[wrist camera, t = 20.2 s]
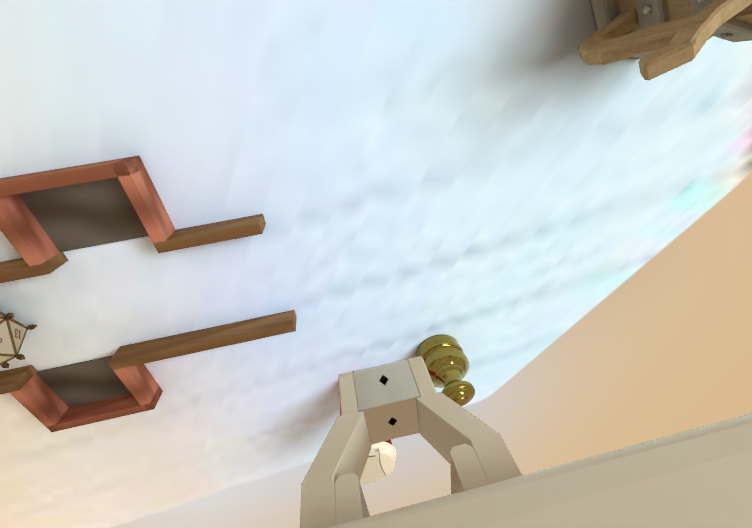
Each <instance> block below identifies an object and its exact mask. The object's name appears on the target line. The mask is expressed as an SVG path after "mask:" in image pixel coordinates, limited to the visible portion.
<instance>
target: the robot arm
mask: <svg viewBox="0 0 752 528" xmlns="http://www.w3.org/2000/svg"><path fill="white" fill-rule="evenodd" d="M338 381H339V392H340V404H341V416H339V417H337V418H336V420H335V422H334V424H333V426H332V428H331V430H330V431H329V433H328V435H327V437H326V439H325V441H324V443H323V445H322V446H321V448H320V450H319V452H318V454H317V456H316V458H315V460H314V461H313V463H312V465H311V467H310V469H309V471H308V473H307V475H306V476H305V478H304V480H303V482H302V484H301V510H300V512H301V513H300V528H752V414H748V415H744V416H740V417H737V418H733V419H729V420H726V421H722V422H718V423H715V424H711V425H707V426H703V427H699V428H696V429H692V430H689V431H685V432H681V433H677V434H673V435H670V436H666V437H663V438H659V439H655V440H651V441H647V442H644V443H640V444H636V445H633V446H629V447H625V448H622V449H618V450H614V451H610V452H607V453H603V454H599V455H596V456H592V457H588V458H585V459H581V460H577V461H573V462H570V463H566V464H562V465H559V466H555V467H551V468H547V469H544V470H540V471H537V472H533V473H529V474H525V475H522V474H521V472H520V470H519V468H518V466H517V465H516V463H515V461H514V459H513V457H512V455H511V454H510V452H509V450H508V448H507V446H506V444H505V442H504V440H503V439H502V437H501V435H500V434H499V433H498V432H497V431H495V430H494V429H492V428H491V427H489V426H488V425H487V424H485V423H484V422H483V421H481V420H480V419H478V418H477V417H476V416H474V415H473V414H471V413H470V412H468V411H467V410H466V409H464V408H463V407H461V406H460V405H459V404H457V403H456V402H454V401H453V400H451V399H450V398H449V397H447V396H446V395H444V394H443V393H442V392H438V393H437V392H436V390H435V387H434V385H433V383H432V380H431V378H430V375H429V373H428V370H427V368H426V365H425V363H424V360H423V358H422V357H421V356H418V357H414V358H409V359H405V360H400V361H396V362H392V363H388V364H384V365H380V366H377V367H372V368H367V369H362V370H357V371H353V372H349V373H344V374H339V377H338ZM416 433H420V434H421V435H422V436H423V437H424V438H425V439H426V440H427V441H428V442H429V443H430V444H431V445H432V446H433V447H434V448H435V449H436V450H437V451H438V452H439V453H440V454H441V455H442V456H443V457H444V458H445V459H446V460H447V461H448V462H449V463H450V464H451V495H447V496H443V497H440V498H436V499H432V500H428V501H425V502H421V503H417V504H414V505H410V506H406V507H402V508H399V509H395V510H392V511H388V512H384V513H380V514H377V515H373V516H370V515H369V512H368V509H367V505H366V502H365V498H364V495H363V492H362V488H361V485H360V479H361V476H362V473H363V471H364V468H365V465H366V462H367V459H368V456H369V453H370V450H371V447H372V446H371V445H373V444H376V443H380V442H383V441H387V440H390V439H394V438H395V437H396V438H398V437H402V436H407V435H412V434H416Z"/></svg>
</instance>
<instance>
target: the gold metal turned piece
mask: <svg viewBox="0 0 752 528" xmlns="http://www.w3.org/2000/svg"><path fill="white" fill-rule="evenodd" d="M418 356H421V357H422V358H423V360H424V363H425V365H426V368H427V370H428V373H429V375H430V378H431V380H432V383H433V385H434V387H437V388H444V389H443V391H442V393H443V394H444V395H446V396H447V397H449V398H450V399H451V400H453V401H454V402H456V403H457V404H459V405H460V406H463V405H465V404H467V403H468V402H469V401H470V400H471V399H472V398H473V396H474V394H475V390H474V387H473V385H472V384H471V383H469V382H467V381H462V379H463V378H464V377H465V375H466V374H467V372H468V369H469V361H468V359H467V357H466V356H465V354H464V353H463V350H462V348H461V347H460V346H459V344H458V342H457V340H456V339H455V338H453V337H451V336H448V335H437V336H433V337H431V338H429V339H427V340H426V341H424V342H423V343H422V344H421V345H420V347H419V348H418V350H417V354H416V357H418Z"/></svg>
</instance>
